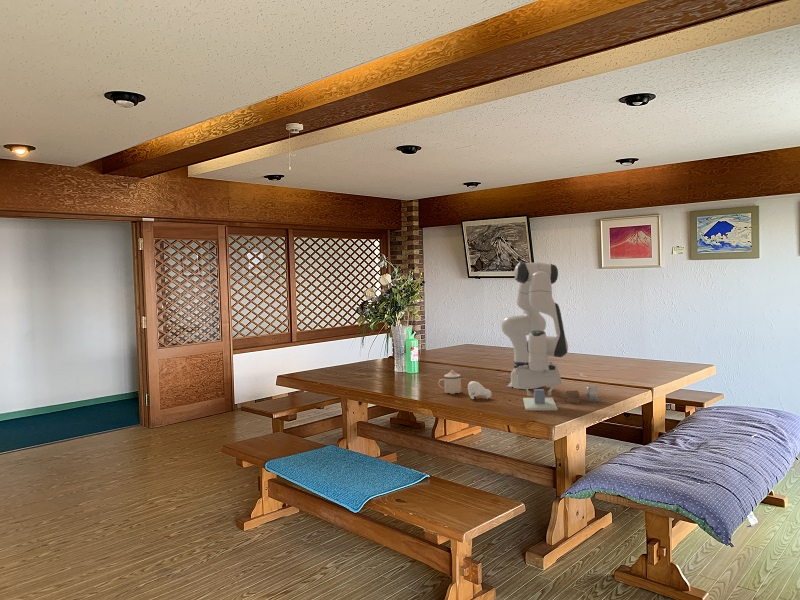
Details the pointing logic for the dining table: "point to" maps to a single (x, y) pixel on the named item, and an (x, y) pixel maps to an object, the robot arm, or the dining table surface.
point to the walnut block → (573, 396)
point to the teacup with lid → (451, 383)
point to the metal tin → (592, 393)
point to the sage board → (531, 404)
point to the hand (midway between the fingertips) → (539, 394)
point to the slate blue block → (539, 396)
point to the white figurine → (478, 390)
